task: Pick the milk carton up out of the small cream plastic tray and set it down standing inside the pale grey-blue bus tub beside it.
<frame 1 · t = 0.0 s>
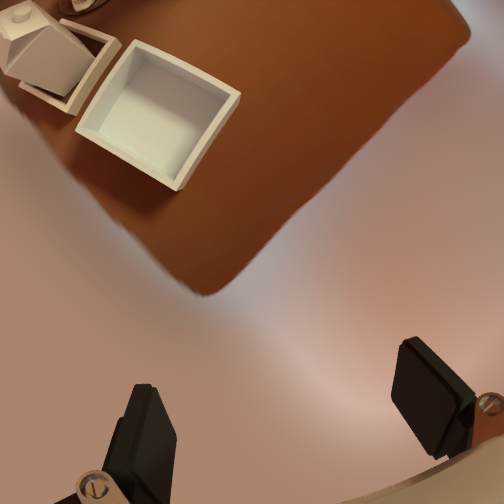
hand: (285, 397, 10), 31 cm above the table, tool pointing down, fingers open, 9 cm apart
tub: (162, 117, 35), on the table
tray: (71, 66, 31), on the table
milk carton: (71, 67, 31), resting in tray
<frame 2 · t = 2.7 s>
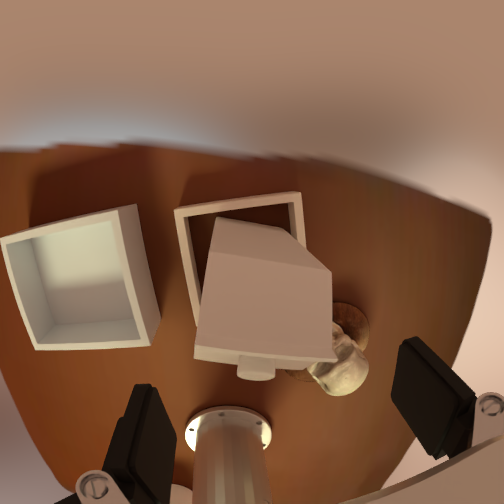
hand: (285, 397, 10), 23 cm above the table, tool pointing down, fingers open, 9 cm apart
tub: (88, 272, 31), on the table
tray: (244, 254, 32), on the table
milk carton: (243, 254, 32), resting in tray
skull: (324, 342, 36), on the table
mug: (163, 489, 42), on the table
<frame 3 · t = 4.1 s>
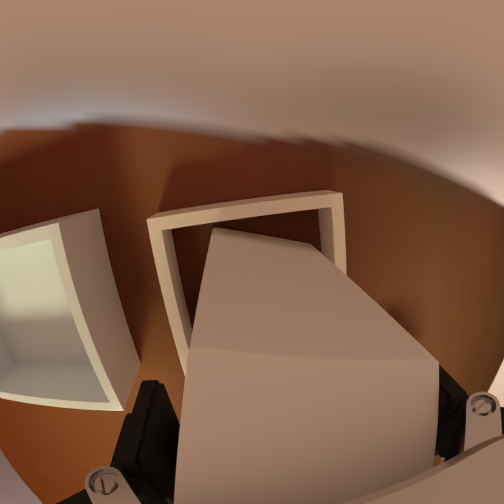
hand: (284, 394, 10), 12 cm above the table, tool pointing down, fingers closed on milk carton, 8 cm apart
tub: (44, 301, 21), on the table
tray: (253, 281, 22), on the table
milk carton: (253, 280, 22), resting in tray, touching gripper
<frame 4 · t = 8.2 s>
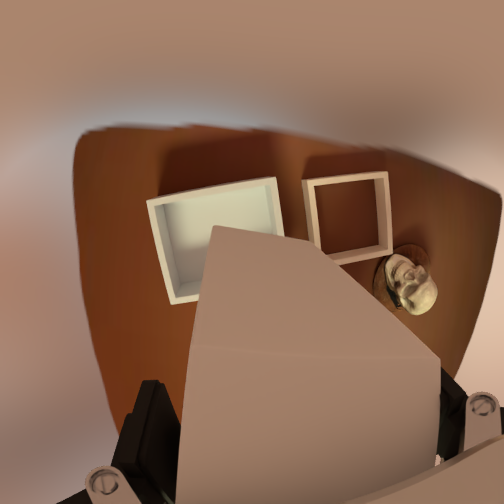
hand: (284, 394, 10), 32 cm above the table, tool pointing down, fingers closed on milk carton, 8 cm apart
tub: (220, 233, 41), on the table
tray: (346, 216, 42), on the table
milk carton: (253, 278, 22), point 20 cm above the table, touching gripper
skull: (401, 277, 46), on the table
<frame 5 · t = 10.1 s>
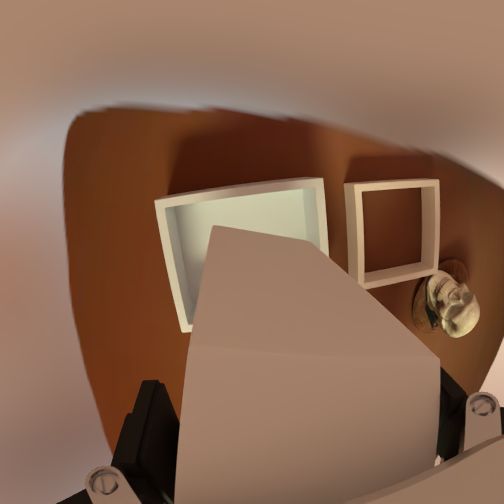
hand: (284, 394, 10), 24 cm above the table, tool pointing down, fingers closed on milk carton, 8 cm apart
tub: (244, 244, 33), on the table
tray: (390, 228, 34), on the table
milk carton: (253, 278, 22), point 12 cm above the table, touching gripper
skull: (440, 295, 38), on the table
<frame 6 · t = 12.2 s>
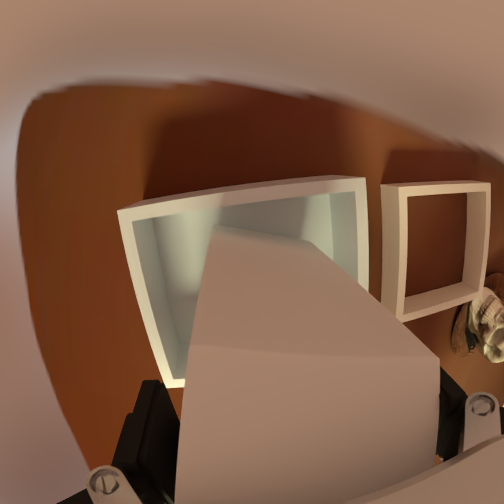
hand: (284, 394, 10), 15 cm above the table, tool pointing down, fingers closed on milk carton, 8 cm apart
tub: (249, 266, 25), on the table
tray: (432, 242, 26), on the table
milk carton: (253, 278, 22), point 2 cm above the table, touching gripper
skull: (479, 314, 30), on the table
when the fingers open (15 cm above the table, at t = 12.4 s): milk carton drops 2 cm, resting on tub.
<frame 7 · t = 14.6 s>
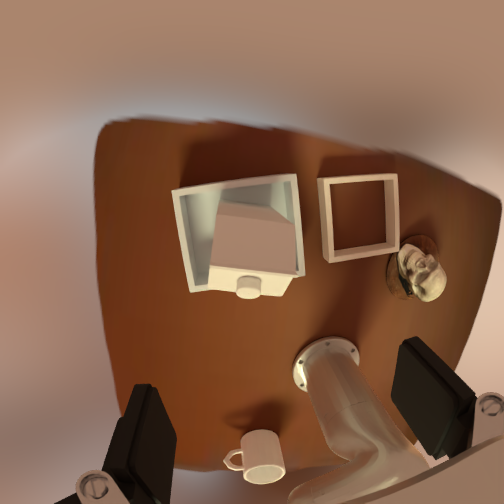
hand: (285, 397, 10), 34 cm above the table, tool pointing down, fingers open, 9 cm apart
tub: (238, 225, 43), on the table
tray: (356, 214, 44), on the table
milk carton: (241, 227, 42), point 1 cm above the table, touching tub
skull: (412, 266, 48), on the table
mug: (250, 438, 55), on the table
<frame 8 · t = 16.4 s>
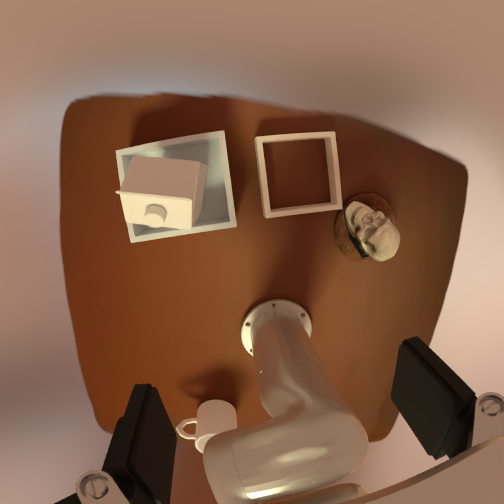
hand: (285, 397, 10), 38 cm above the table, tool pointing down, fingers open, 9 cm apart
tub: (180, 185, 45), on the table
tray: (296, 173, 46), on the table
milk carton: (181, 185, 44), point 1 cm above the table, touching tub
skull: (365, 227, 49), on the table
mug: (207, 409, 57), on the table
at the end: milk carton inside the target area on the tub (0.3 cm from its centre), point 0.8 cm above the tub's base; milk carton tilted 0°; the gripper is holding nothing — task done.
